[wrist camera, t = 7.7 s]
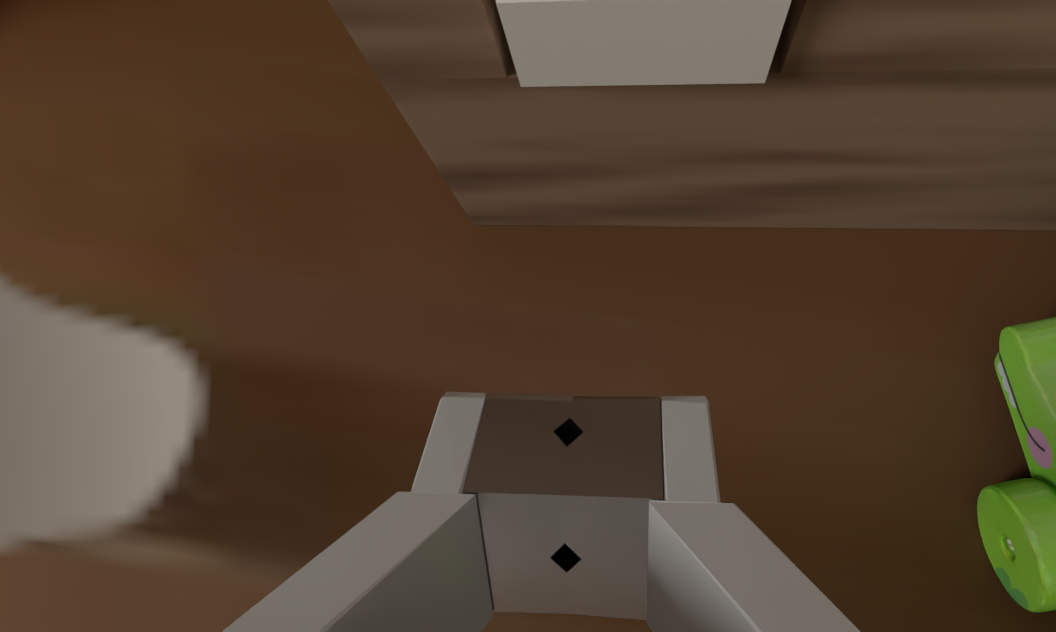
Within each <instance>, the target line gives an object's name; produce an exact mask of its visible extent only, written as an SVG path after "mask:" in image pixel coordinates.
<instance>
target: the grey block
mask: <svg viewBox="0 0 1056 632" xmlns="http://www.w3.org/2000/svg"><path fill="white" fill-rule="evenodd" d="M791 1H792V0H496V6H497V9H498V12H499V16H500V19H501V22H502V26H503V29H504V32H505V36H506V39H507V42H508V46H509V49H510V52H511V56H512V59H513V62H514V66H515V69H516V73H517V76H518V79H519V83H520V86H521V87H548V86H615V85H682V84H748V83H765V81H766V78H767V75H768V72H769V69H770V66H771V63H772V59H773V56H774V53H775V50H776V47H777V44H778V41H779V38H780V35H781V32H782V29H783V26H784V22H785V19H786V16H787V13H788V10H789V7H790V4H791Z"/></svg>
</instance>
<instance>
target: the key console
mask: <svg viewBox="0 0 1056 632" xmlns="http://www.w3.org/2000/svg"><path fill="white" fill-rule="evenodd" d="M328 1H329V3H330V5H331V6H332V8H333V9H334V11H335V12H336V14H337V15H338V17H339V18H340V20H341V21H342V23H343V25H344V26H345V28H346V29H347V31H348V32H349V34H350V35H351V37H352V38H353V40H354V41H355V43H356V45H357V46H358V48H359V49H360V51H361V52H362V54H363V55H364V57H365V58H366V60H367V62H368V63H369V65H370V66H371V68H372V69H373V71H374V72H375V74H376V75H377V77H378V78H379V80H380V82H381V83H382V85H383V86H384V88H385V89H386V91H387V92H388V94H389V95H390V97H391V98H392V100H393V102H394V103H395V105H396V106H397V108H398V109H399V111H400V112H401V114H402V115H403V117H404V118H405V120H406V122H407V123H408V125H409V126H410V128H411V129H412V131H413V132H414V134H415V135H416V137H417V138H418V140H419V142H420V143H421V145H422V146H423V148H424V149H425V151H426V152H427V154H428V155H429V157H430V158H431V160H432V162H433V163H434V165H435V166H436V168H437V169H438V171H439V172H440V174H441V175H442V177H443V178H444V180H445V182H446V183H447V185H448V186H449V188H450V189H451V191H452V192H453V194H454V195H455V197H456V198H457V200H458V202H459V203H460V205H461V206H462V208H463V209H464V211H465V212H466V214H467V215H468V217H469V218H470V220H471V222H472V223H473V225H555V226H660V227H765V228H870V229H975V230H1056V0H792V1H791V4H790V7H789V10H788V13H787V16H786V19H785V22H784V26H783V29H782V32H781V35H780V38H779V41H778V44H777V47H776V50H775V53H774V56H773V59H772V63H771V66H770V69H769V72H768V75H767V78H766V81H765V83H748V84H682V85H615V86H548V87H521V86H520V83H519V79H518V76H517V73H516V69H515V66H514V62H513V59H512V56H511V52H510V49H509V46H508V42H507V39H506V36H505V32H504V29H503V26H502V22H501V19H500V16H499V12H498V9H497V6H496V0H328Z"/></svg>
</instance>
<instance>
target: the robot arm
mask: <svg viewBox="0 0 1056 632" xmlns="http://www.w3.org/2000/svg"><path fill="white" fill-rule="evenodd" d="M493 612H531V613H569V612H570V614H581V615H593V616H605V617H618V618H630V619H642V620H647V625H648V626H649V628H650V629H651V631H652V632H860V631H859V630H858V629H857V628H856V627H855V626H854V625H853V624H852V623H851V622H850V620H849V619H848V618H847V617H846V616H845V615H844V614H843V613H842V612H841V611H840V610H839V609H838V608H837V607H836V606H835V605H834V604H833V603H832V602H831V601H830V600H829V599H828V598H827V597H826V596H825V595H824V594H823V593H822V592H821V591H820V590H819V589H818V588H817V587H816V586H815V585H814V584H813V583H812V582H811V581H810V580H809V579H808V578H807V577H806V576H805V575H804V574H803V573H802V572H801V571H800V570H799V569H798V568H797V567H796V566H795V565H794V563H793V562H792V561H791V560H790V559H789V558H788V557H787V556H786V555H785V554H784V553H783V552H782V551H781V550H780V549H779V548H778V547H777V546H776V545H775V544H774V543H773V542H772V541H771V540H770V539H769V538H768V537H767V536H766V535H765V534H764V533H763V532H762V531H761V530H760V529H759V528H758V527H757V526H756V525H755V524H754V523H753V522H752V521H751V520H750V519H749V518H748V517H747V516H746V515H745V514H744V513H743V512H742V511H741V510H740V509H739V508H738V506H737V505H736V504H733V503H720V495H719V486H718V477H717V469H716V460H715V452H714V443H713V435H712V426H711V417H710V409H709V401H708V400H707V398H706V397H705V396H661V399H660V398H659V397H593V396H562V395H537V394H512V393H489V394H487V393H471V392H446V394H445V395H444V396H443V397H442V398H441V399H440V402H439V405H438V408H437V411H436V414H435V417H434V421H433V424H432V427H431V430H430V433H429V436H428V439H427V442H426V445H425V449H424V452H423V455H422V458H421V461H420V464H419V467H418V470H417V473H416V477H415V480H414V483H413V486H412V489H411V492H397V493H396V494H394V495H393V496H392V497H391V498H389V499H388V500H387V501H386V502H384V503H383V504H382V505H381V506H379V507H378V508H377V509H375V510H374V511H373V512H372V513H370V514H369V515H368V516H367V517H365V518H364V519H363V520H362V521H360V522H359V523H358V524H357V525H355V526H354V527H353V528H352V529H350V530H349V531H348V532H347V533H345V534H344V535H343V536H342V537H340V538H339V539H338V540H336V541H335V542H334V543H333V544H331V545H330V546H329V547H328V548H326V549H325V550H324V551H323V552H321V553H320V554H319V555H318V556H316V557H315V558H314V559H313V560H311V561H310V562H309V563H308V564H306V565H305V566H304V567H303V568H301V569H300V570H299V571H297V572H296V573H295V574H294V575H292V576H291V577H290V578H289V579H287V580H286V581H285V582H284V583H282V584H281V585H280V586H279V587H277V588H276V589H275V590H274V591H272V592H271V593H270V594H269V595H267V596H266V597H265V598H264V599H262V600H261V601H260V602H258V603H257V604H256V605H255V606H253V607H252V608H251V609H250V610H248V611H247V612H246V613H245V614H243V615H242V616H241V617H240V618H238V619H237V620H236V621H235V622H233V623H232V624H231V625H230V626H228V627H227V628H226V629H225V630H223V632H481V631H482V630H483V629H484V627H485V626H486V625H487V624H488V622H489V621H490V620H491V619H492V617H493Z"/></svg>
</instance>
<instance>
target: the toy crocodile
mask: <svg viewBox="0 0 1056 632" xmlns="http://www.w3.org/2000/svg"><path fill="white" fill-rule="evenodd" d="M999 347H1000V348H999V352H998V354H997V356H996V358H995V362H994V364H995V369H996V373H997V376H998V379H999V381H1000V384H1001V387H1002V390H1003V393H1004V396H1005V398H1006V401H1007V404H1008V407H1009V410H1010V413H1011V416H1012V419H1013V422H1014V425H1015V428H1016V431H1017V434H1018V437H1019V440H1020V443H1021V446H1022V449H1023V452H1024V455H1025V458H1026V461H1027V464H1028V467H1029V470H1030V473H1031V477H1032V479H1031V478H1023V479H1017V480H1012V481H1007V482H1002V483H997V484H993V485H989V486H987V487H985V488H983V489H982V490H981V492H980V494H979V496H978V501H977V516H978V524H979V529H980V534H981V537H982V541H983V544H984V547H985V550H986V553H987V555H988V557H989V560H990V562H991V564H992V566H993V568H994V570H995V572H996V574H997V576H998V578H999V579H1000V581H1001V583H1002V584H1003V586H1004V587H1005V589H1006V590H1007V592H1008V593H1009V594H1010V596H1011V597H1012V598H1013V599H1014V600H1015V601H1016V602H1017V603H1018V604H1019V605H1021V606H1022V607H1023V608H1025V609H1026V610H1028V611H1031V612H1047V611H1052V610H1056V317H1052V318H1047V319H1042V320H1037V321H1033V322H1028V323H1022V324H1017V325H1012V326H1008V327H1005V328H1004V329H1003V330H1002V331H1001V334H1000V338H999Z"/></svg>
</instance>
